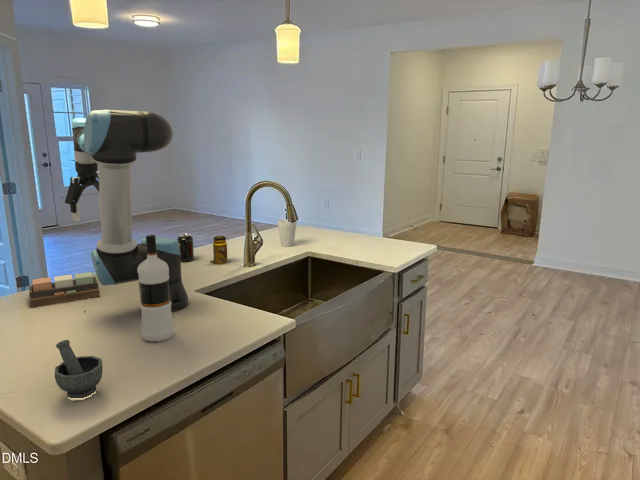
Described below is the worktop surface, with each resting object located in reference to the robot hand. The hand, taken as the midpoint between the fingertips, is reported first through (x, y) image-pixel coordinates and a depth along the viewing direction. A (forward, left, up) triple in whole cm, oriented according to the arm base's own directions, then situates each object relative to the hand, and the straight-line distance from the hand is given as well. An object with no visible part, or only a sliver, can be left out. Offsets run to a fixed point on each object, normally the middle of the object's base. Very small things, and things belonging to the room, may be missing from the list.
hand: (90, 215), depth 182 cm
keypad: (-21, +4, -26) cm, 33 cm away
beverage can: (+23, -31, -26) cm, 47 cm away
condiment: (+18, -46, -26) cm, 56 cm away
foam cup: (+47, -78, -26) cm, 95 cm away
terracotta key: (-23, +10, -21) cm, 33 cm away
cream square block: (-20, +4, -21) cm, 30 cm away
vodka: (-58, -36, -26) cm, 73 cm away
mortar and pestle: (-87, -25, -26) cm, 94 cm away
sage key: (-18, -2, -21) cm, 28 cm away
